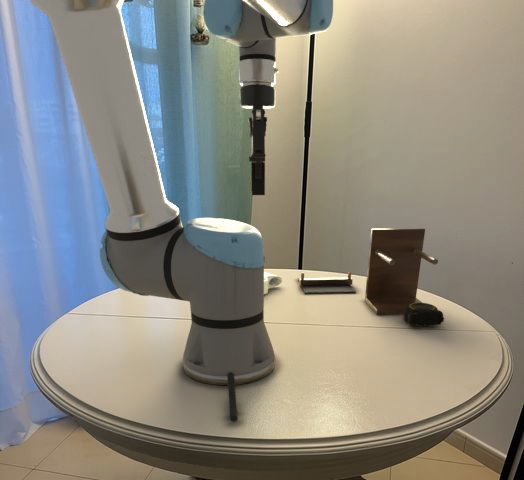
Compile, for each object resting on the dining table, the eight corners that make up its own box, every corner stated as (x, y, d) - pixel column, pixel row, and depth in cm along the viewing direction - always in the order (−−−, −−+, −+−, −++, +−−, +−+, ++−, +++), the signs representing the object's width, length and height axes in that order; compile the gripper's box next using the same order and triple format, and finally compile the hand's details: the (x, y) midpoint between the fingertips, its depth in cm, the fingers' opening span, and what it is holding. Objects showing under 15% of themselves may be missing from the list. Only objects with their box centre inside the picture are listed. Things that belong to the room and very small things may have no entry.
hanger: (352, 284, 121) (353, 272, 120) (300, 285, 120) (300, 273, 119) (350, 283, 122) (351, 271, 121) (299, 284, 122) (299, 272, 120)
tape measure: (409, 330, 91) (411, 312, 90) (398, 318, 97) (400, 301, 96) (442, 329, 91) (445, 311, 90) (429, 317, 98) (431, 301, 96)
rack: (433, 316, 98) (446, 237, 92) (379, 317, 98) (387, 238, 91) (413, 300, 110) (423, 228, 103) (364, 301, 109) (371, 228, 102)
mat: (355, 292, 115) (355, 291, 115) (304, 293, 115) (305, 292, 115) (343, 278, 128) (343, 277, 128) (298, 279, 128) (298, 278, 127)
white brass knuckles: (289, 288, 119) (244, 299, 111) (249, 275, 132) (206, 284, 124) (290, 276, 118) (244, 285, 109) (248, 264, 131) (205, 271, 122)
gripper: (279, 76, 84) (277, 197, 92) (272, 94, 107) (271, 189, 115) (238, 75, 84) (240, 197, 92) (240, 94, 107) (241, 189, 115)
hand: (257, 193), depth 103 cm, fingers open, 13 cm apart
